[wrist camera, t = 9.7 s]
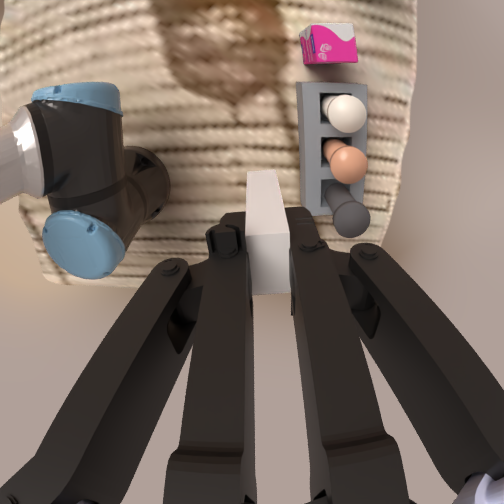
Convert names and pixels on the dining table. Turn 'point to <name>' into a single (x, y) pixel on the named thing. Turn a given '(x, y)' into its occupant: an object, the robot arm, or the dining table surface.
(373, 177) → the dining table surface
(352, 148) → the terracotta plug
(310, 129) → the socket block
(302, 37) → the supplement box
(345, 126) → the cream plug
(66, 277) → the dining table surface
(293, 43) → the dining table surface
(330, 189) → the black plug
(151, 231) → the dining table surface
